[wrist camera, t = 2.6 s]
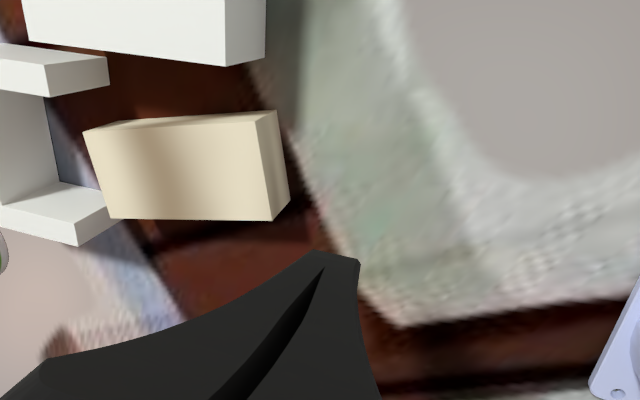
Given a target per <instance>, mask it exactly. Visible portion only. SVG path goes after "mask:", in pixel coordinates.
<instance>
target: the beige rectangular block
mask: <svg viewBox="0 0 640 400" xmlns="http://www.w3.org/2000/svg"><path fill="white" fill-rule="evenodd" d="M82 133H83V136H84V139H85V142H86V145H87V148H88V151H89V154H90V157H91V160H92V163H93V166H94V169H95V172H96V175H97V178H98V182H99V185H100V188H101V191H102V194H103V197H104V200H105V203H106V206H107V209H108V212H109V215H110V218H116V219H181V220H247V221H272V220H273V219H274V218H275V217H276V216H277V215H278V214H279V213H280V211H281V210H282V209H283V208H284V207H285V206H286V205H287V203H288V202H289V201H290V193H289V187H288V180H287V174H286V167H285V161H284V155H283V148H282V142H281V135H280V129H279V122H278V116H277V110H265V111H251V112H237V113H222V114H208V115H194V116H180V117H166V118H151V119H137V120H123V121H116V122H113V123H110V124H107V125H104V126H100V127H97V128H94V129H91V130H87V131H84V132H82Z"/></svg>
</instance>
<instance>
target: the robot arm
mask: <svg viewBox="0 0 640 400" xmlns="http://www.w3.org/2000/svg"><path fill="white" fill-rule="evenodd" d="M360 266H361V264H360V262H359V261H358V259H354V258H350V257H345V256H341V255H337V254H332V253H328V252H323V251H319V250H314V249H313V250H311V251H310V252H308V253H307V254H305V255H304V256H302V257H301V258H299V259H298V260H297V261H295V262H294V263H292V264H291V265H290V266H288V267H287V268H285V269H284V270H282V271H281V272H279V273H278V274H276V275H275V276H273V277H272V278H270V279H269V280H267V281H266V282H264V283H263V284H261V285H259V286H258V287H256V288H254V289H253V290H251V291H249V292H248V293H246V294H244V295H242V296H241V297H239V298H237V299H235V300H233V301H231V302H230V303H228V304H226V305H223V306H221V307H219V308H217V309H215V310H213V311H211V312H208V313H206V314H204V315H202V316H199V317H197V318H194V319H192V320H189V321H186V322H184V323H181V324H178V325H175V326H173V327H170V328H167V329H165V330H162V331H159V332H156V333H153V334H149V335H146V336H143V337H140V338H136V339H133V340H129V341H125V342H122V343H118V344H114V345H110V346H106V347H102V348H97V349H93V350H88V351H83V352H78V353H74V354H69V355H64V356H59V357H54V358H48V359H46V360H45V361H44V362H42V363H41V364H40V365H39V366H37V367H36V368H35V369H34V370H33V371H32V372H30V373H29V374H28V375H27V376H26V377H25V378H23V379H22V380H21V381H20V382H19V383H17V384H16V385H15V386H14V387H13V388H12V389H10V390H9V391H8V392H7V393H6V394H4V395H3V396H2V397H1V398H0V400H382V398H381V396H380V393H379V391H378V388H377V385H376V383H375V380H374V377H373V373H372V370H371V367H370V364H369V360H368V357H367V353H366V349H365V345H364V341H363V336H362V331H361V326H360V320H359V313H358V303H357V286H358V279H359V272H360ZM588 386H589V388H590V391H591V393H592V394H593V395H594V396H596V397H598V398H601V399H605V400H640V276H639V278H638V280H637V282H636V284H635V286H634V288H633V290H632V292H631V295H630V297H629V299H628V301H627V303H626V305H625V307H624V309H623V311H622V313H621V315H620V317H619V319H618V321H617V323H616V325H615V327H614V329H613V331H612V333H611V335H610V337H609V340H608V342H607V344H606V346H605V348H604V350H603V352H602V354H601V356H600V358H599V360H598V362H597V364H596V366H595V368H594V370H593V372H592V374H591V376H590V378H589V380H588ZM615 389H621V390H619V391H612V390H615Z"/></svg>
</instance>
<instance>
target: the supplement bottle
mask: <svg viewBox="0 0 640 400" xmlns="http://www.w3.org/2000/svg"><path fill="white" fill-rule="evenodd" d="M8 260H9V255H8V249H7V245H6V242H5V240H4V238H3V236H2V234H1V232H0V274H1V273H3V271H4V270H5V269H6V267H7V264H8Z"/></svg>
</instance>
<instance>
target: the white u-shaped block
mask: <svg viewBox="0 0 640 400" xmlns="http://www.w3.org/2000/svg"><path fill="white" fill-rule="evenodd" d="M21 1H22V6H23V11H24V16H25V21H26V26H27V31H28V36H29V41H36V42H43V43H51V44H58V45H66V46H73V47H81V48H89V49H96V50H104V51H111V52H119V53H126V54H134V55H141V56H149V57H157V58H164V59H172V60H179V61H187V62H194V63H202V64H209V65H217V66H225V67H226V66H230V65H235V64H239V63H244V62H248V61H253V60H257V59H261V58H265V27H266V0H21Z"/></svg>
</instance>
